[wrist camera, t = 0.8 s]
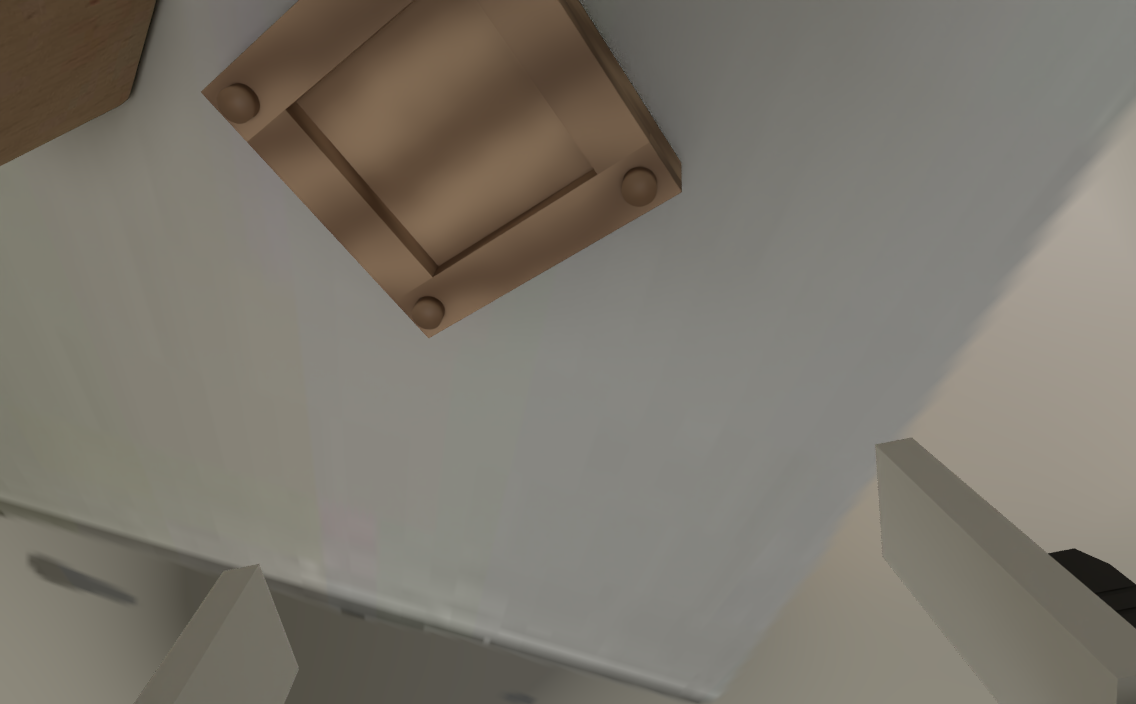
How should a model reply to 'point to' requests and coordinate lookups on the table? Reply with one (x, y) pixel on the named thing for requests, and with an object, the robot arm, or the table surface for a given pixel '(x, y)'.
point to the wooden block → (64, 65)
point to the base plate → (450, 139)
